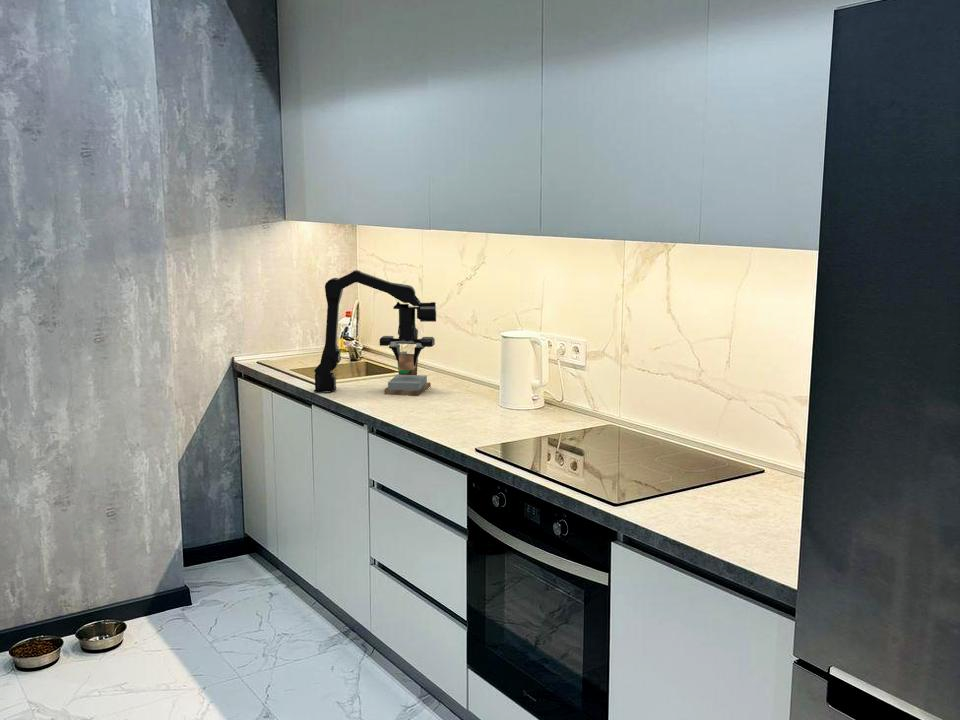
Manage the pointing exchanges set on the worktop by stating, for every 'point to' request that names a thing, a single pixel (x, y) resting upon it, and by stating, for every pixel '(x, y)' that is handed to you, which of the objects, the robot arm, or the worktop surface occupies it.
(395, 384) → the slate grey slab
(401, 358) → the terracotta block
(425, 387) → the walnut slab
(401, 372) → the food container
